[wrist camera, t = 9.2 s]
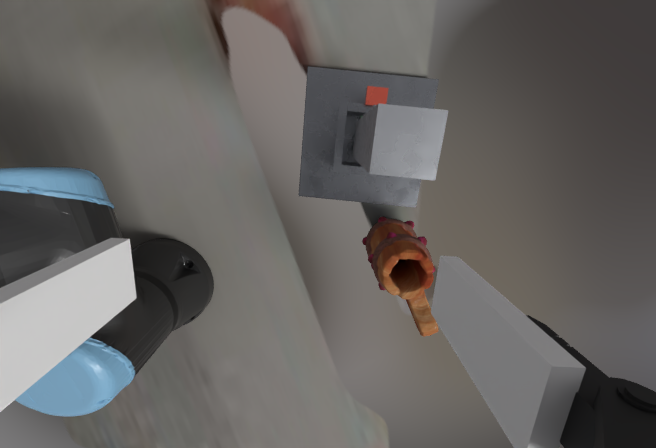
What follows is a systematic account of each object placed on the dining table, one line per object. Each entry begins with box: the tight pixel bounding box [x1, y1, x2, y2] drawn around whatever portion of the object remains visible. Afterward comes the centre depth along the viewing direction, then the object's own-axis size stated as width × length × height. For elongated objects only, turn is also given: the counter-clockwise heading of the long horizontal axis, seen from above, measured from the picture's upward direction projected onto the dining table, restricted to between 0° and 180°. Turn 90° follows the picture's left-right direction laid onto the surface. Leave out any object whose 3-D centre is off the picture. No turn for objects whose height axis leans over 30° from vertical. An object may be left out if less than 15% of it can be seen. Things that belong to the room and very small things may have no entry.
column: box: [352, 103, 448, 180], centre depth 27 cm, size 4×5×20 cm
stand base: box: [299, 66, 438, 207], centre depth 41 cm, size 18×18×9 cm
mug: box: [363, 217, 438, 336], centre depth 42 cm, size 15×8×15 cm, turn 22°
